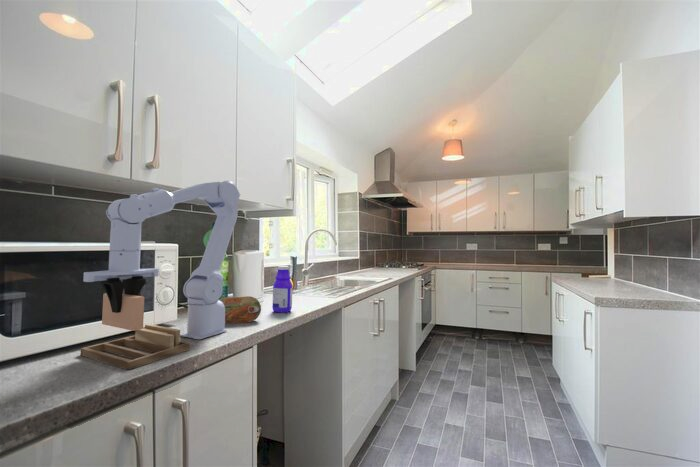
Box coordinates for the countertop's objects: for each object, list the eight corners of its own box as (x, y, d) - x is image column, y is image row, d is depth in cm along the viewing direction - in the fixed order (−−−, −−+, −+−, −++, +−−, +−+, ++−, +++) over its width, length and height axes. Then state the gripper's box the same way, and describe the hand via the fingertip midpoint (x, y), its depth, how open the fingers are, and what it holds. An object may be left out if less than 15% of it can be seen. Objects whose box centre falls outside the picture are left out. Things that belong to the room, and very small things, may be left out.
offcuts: (147, 341, 79) (147, 323, 79) (182, 349, 73) (183, 330, 73) (133, 345, 76) (134, 326, 76) (169, 353, 70) (170, 334, 70)
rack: (143, 338, 81) (143, 333, 81) (190, 349, 73) (190, 343, 74) (80, 355, 69) (80, 348, 69) (128, 369, 61) (129, 362, 61)
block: (111, 322, 72) (113, 292, 73) (143, 328, 67) (144, 296, 68) (101, 324, 71) (103, 293, 71) (133, 330, 66) (134, 298, 66)
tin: (210, 324, 96) (211, 297, 97) (212, 322, 99) (213, 296, 100) (260, 322, 101) (261, 296, 101) (260, 320, 104) (261, 294, 104)
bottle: (294, 310, 119) (295, 265, 120) (287, 313, 113) (288, 266, 114) (276, 309, 120) (277, 265, 121) (269, 312, 115) (271, 266, 116)
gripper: (146, 250, 78) (144, 304, 77) (77, 250, 65) (73, 315, 64) (164, 251, 75) (162, 306, 74) (95, 251, 62) (92, 319, 61)
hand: (122, 311), depth 69 cm, fingers closed on block, 2 cm apart
